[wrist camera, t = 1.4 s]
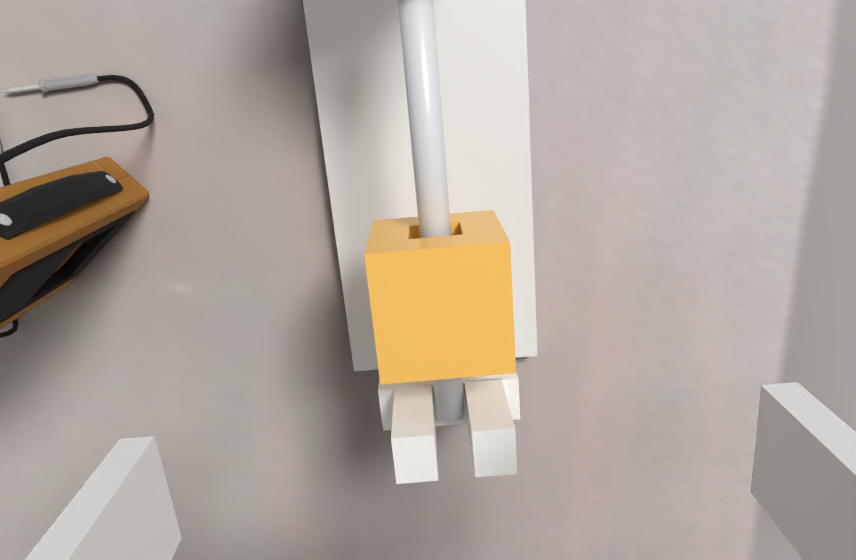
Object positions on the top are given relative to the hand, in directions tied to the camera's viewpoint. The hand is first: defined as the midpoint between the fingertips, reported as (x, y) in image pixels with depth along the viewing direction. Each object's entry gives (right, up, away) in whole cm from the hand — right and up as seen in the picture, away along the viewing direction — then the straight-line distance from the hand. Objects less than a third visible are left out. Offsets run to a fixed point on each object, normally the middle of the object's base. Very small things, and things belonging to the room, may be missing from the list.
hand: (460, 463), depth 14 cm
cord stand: (-1, +11, +18) cm, 21 cm away
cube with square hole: (0, +4, +13) cm, 14 cm away
